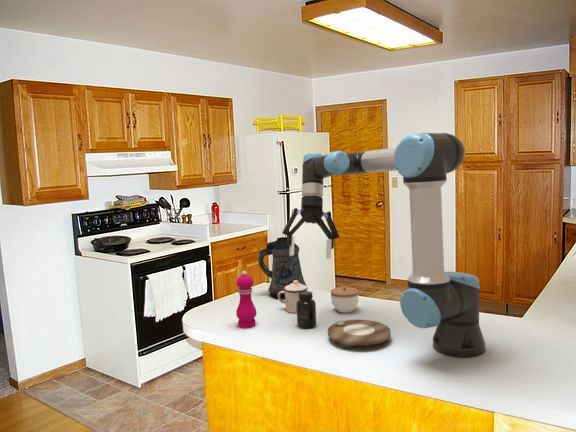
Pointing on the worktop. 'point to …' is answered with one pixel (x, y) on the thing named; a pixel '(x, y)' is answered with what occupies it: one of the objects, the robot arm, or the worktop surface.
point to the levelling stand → (358, 333)
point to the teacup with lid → (292, 295)
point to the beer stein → (281, 266)
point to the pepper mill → (245, 302)
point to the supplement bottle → (306, 310)
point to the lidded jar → (344, 299)
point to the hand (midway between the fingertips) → (310, 257)
